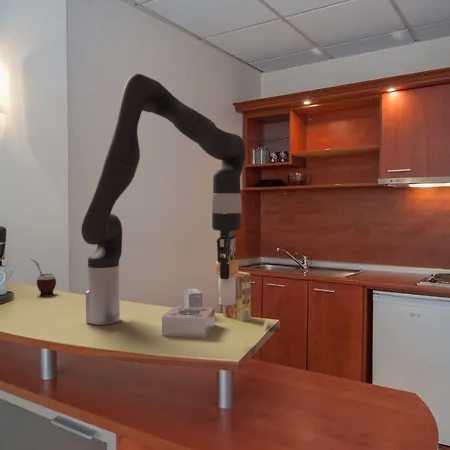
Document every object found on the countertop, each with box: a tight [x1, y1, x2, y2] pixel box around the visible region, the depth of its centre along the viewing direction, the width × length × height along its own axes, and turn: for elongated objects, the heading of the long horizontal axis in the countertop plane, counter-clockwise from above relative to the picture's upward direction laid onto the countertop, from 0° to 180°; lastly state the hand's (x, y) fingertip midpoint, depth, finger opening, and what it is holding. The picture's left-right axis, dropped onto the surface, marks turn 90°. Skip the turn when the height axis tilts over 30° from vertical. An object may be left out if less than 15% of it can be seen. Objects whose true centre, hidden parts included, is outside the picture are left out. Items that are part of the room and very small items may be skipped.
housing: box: [161, 305, 216, 338], centre depth 121 cm, size 12×12×6 cm
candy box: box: [222, 270, 252, 322], centre depth 134 cm, size 9×4×15 cm, turn 44°
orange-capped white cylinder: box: [215, 259, 239, 306], centre depth 112 cm, size 6×6×11 cm
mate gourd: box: [29, 258, 57, 297], centre depth 170 cm, size 8×8×15 cm
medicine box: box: [183, 288, 204, 307], centre depth 138 cm, size 8×4×9 cm, turn 16°
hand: (226, 276), depth 112 cm, fingers closed on orange-capped white cylinder, 5 cm apart
